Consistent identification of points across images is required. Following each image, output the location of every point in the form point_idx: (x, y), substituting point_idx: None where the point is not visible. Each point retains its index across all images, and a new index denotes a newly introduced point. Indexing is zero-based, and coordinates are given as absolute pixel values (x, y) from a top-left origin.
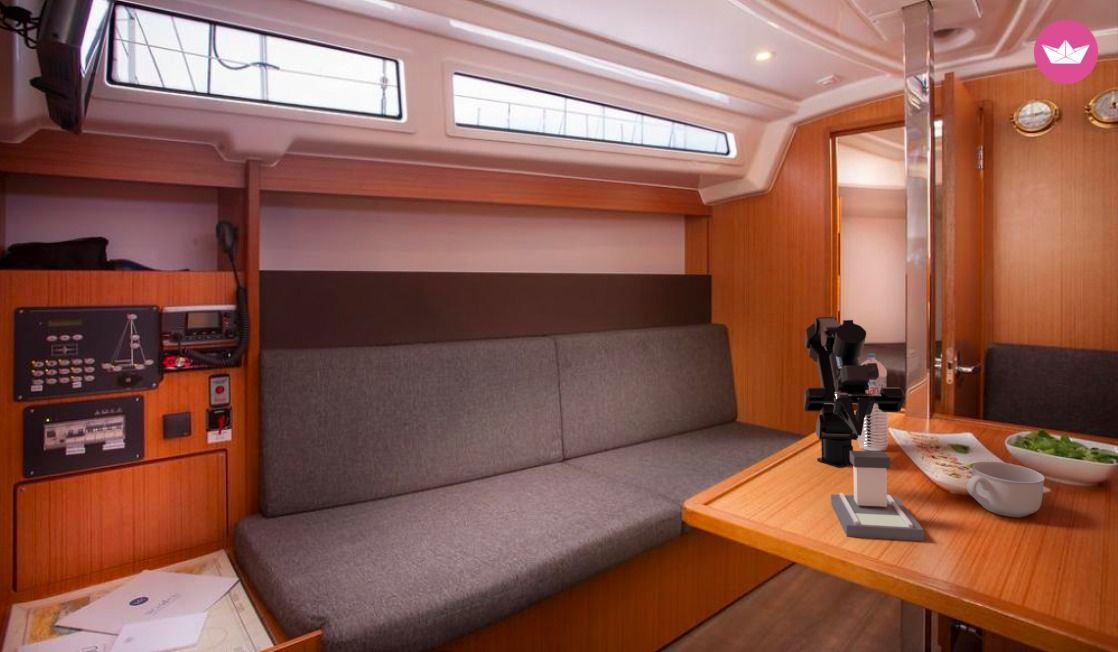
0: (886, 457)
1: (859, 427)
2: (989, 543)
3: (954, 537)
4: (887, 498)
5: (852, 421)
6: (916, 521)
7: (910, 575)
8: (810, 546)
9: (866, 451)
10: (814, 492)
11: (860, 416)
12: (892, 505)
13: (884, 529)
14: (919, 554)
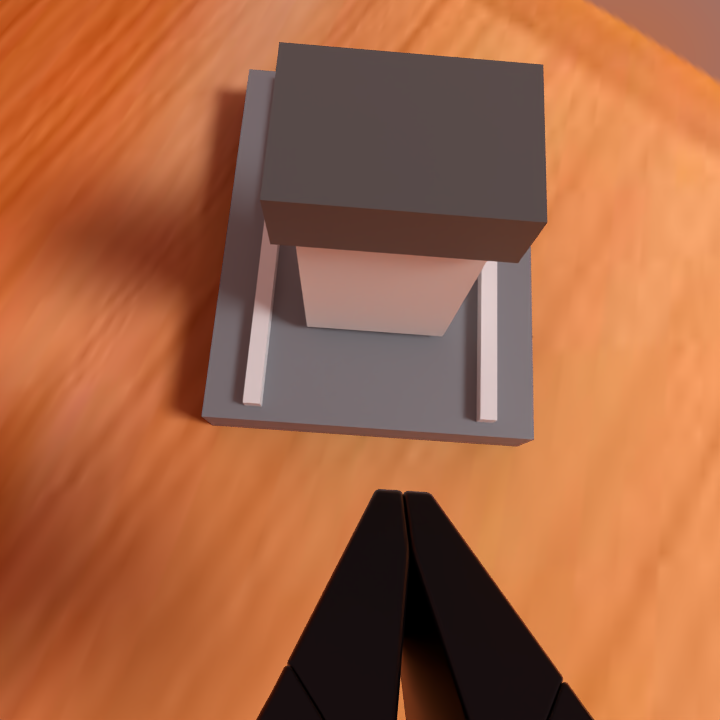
0: (303, 51)
1: (400, 532)
2: (33, 99)
3: (129, 137)
4: (263, 384)
5: (510, 617)
6: (242, 138)
7: None
8: (647, 48)
9: (410, 199)
10: (577, 622)
11: (360, 700)
12: (273, 299)
13: None
14: (312, 16)
